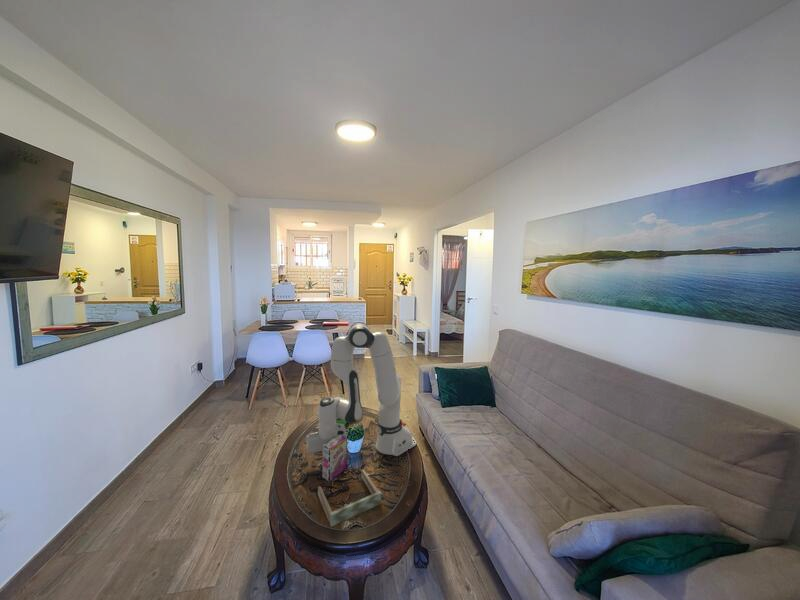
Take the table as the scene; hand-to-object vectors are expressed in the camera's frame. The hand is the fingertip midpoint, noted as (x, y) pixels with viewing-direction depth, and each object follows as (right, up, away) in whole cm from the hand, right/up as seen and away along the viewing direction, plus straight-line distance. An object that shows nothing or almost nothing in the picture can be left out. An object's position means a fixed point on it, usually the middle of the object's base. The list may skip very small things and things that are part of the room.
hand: (327, 456), depth 149 cm
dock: (+14, -6, -23) cm, 28 cm away
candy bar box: (+5, -4, -9) cm, 11 cm away
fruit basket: (0, +3, +34) cm, 34 cm away
